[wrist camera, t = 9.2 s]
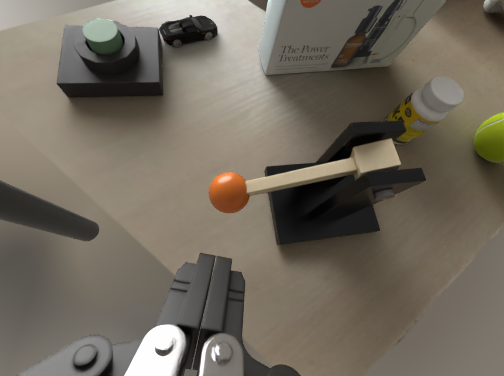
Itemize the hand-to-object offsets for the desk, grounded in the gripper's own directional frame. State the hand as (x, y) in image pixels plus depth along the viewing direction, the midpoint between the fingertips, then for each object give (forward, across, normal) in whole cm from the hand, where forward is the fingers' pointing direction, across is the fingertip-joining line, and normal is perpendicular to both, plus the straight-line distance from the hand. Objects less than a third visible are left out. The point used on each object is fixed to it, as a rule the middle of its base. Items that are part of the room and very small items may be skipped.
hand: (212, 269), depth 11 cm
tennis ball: (+27, -35, -6) cm, 44 cm away
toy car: (+33, +10, -12) cm, 36 cm away
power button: (+24, +18, -8) cm, 31 cm away
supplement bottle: (+27, -21, -6) cm, 35 cm away
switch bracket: (+18, -10, +3) cm, 21 cm away
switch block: (+26, +18, -6) cm, 32 cm away
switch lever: (+12, -6, -1) cm, 13 cm away
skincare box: (+34, -10, -13) cm, 38 cm away
